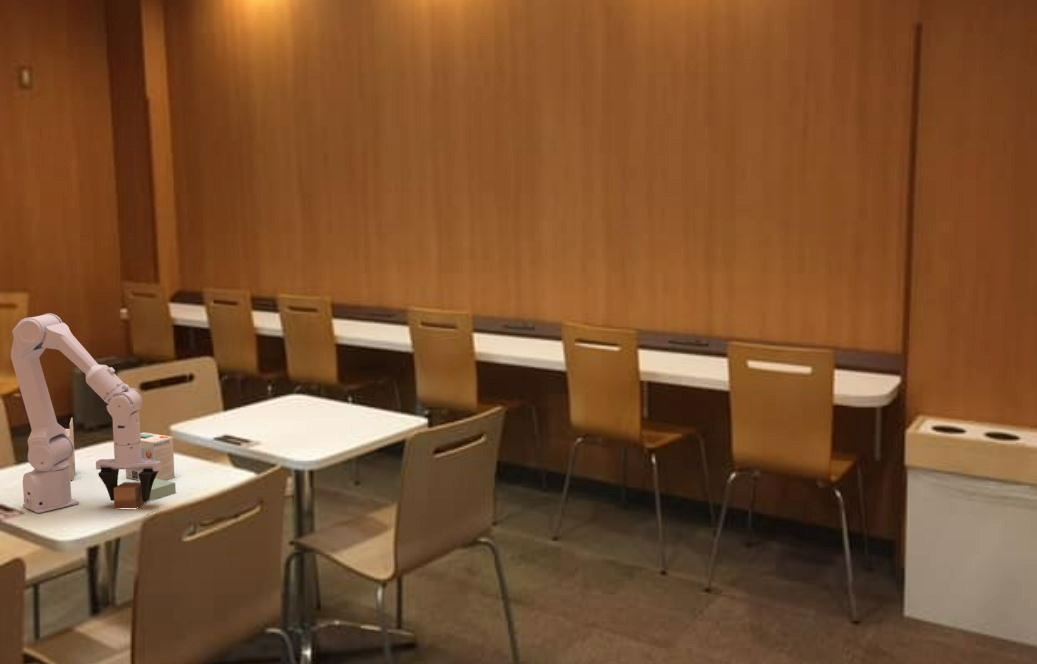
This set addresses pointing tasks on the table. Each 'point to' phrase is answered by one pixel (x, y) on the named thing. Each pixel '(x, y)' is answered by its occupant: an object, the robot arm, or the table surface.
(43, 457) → the robot arm
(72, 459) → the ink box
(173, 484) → the sage green box
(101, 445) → the table surface
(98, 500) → the table surface
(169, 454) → the light bulb box
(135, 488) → the walnut cube
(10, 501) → the table surface
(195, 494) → the table surface
